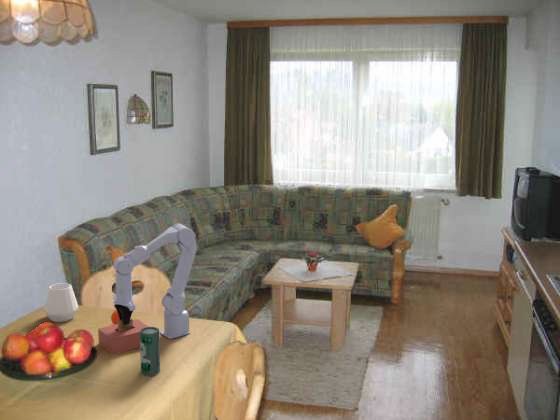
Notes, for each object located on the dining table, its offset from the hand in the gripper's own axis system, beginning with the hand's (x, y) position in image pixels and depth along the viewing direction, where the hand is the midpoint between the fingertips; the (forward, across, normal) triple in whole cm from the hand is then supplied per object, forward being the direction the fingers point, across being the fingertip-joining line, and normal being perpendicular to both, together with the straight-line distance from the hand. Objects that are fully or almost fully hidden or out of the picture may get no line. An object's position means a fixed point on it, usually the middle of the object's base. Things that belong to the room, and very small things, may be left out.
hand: (124, 323), depth 213 cm
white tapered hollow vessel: (+8, -40, -10) cm, 42 cm away
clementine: (+8, -17, +6) cm, 20 cm away
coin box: (+8, 0, 0) cm, 8 cm away
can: (+8, +26, -3) cm, 28 cm away
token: (+4, 0, 0) cm, 4 cm away
